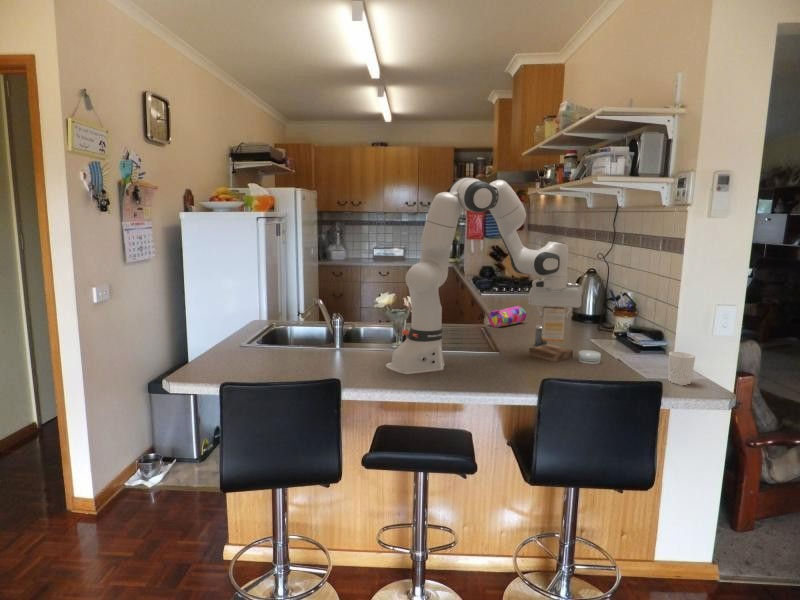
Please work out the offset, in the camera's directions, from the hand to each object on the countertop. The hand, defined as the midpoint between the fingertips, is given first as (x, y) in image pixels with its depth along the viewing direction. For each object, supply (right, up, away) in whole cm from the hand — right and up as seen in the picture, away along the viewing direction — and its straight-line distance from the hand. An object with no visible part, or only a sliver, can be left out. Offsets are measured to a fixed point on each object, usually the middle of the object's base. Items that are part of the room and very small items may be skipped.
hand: (553, 317), depth 207 cm
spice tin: (0, -13, +19) cm, 23 cm away
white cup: (+35, -22, -28) cm, 50 cm away
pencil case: (-6, -6, +62) cm, 62 cm away
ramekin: (+13, -17, -3) cm, 22 cm away
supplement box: (0, -9, +1) cm, 9 cm away
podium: (0, -16, +3) cm, 16 cm away
